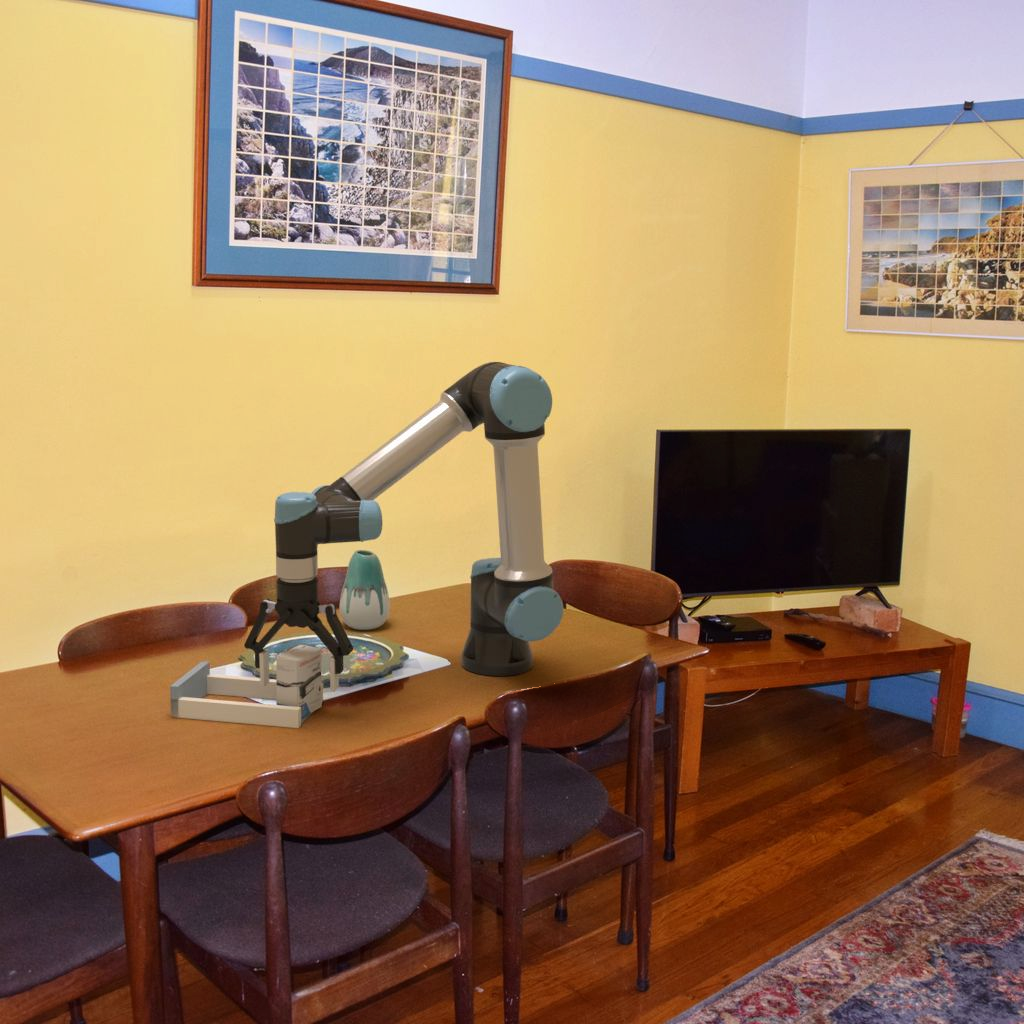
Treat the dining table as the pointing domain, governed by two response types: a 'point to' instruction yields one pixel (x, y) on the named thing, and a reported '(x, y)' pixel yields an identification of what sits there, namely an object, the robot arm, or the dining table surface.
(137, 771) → the dining table surface
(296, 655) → the ink box
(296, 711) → the bay
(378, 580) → the vase
